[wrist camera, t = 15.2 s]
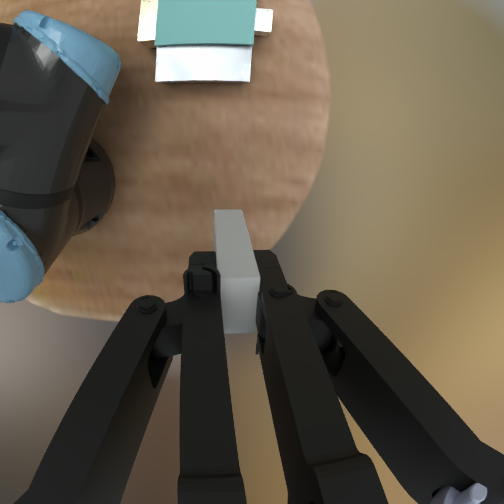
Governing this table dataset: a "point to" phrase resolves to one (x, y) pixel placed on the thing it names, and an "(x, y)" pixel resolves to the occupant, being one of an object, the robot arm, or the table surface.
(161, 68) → the grey block
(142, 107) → the table surface
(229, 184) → the table surface
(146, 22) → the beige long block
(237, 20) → the teal rectangular plate
